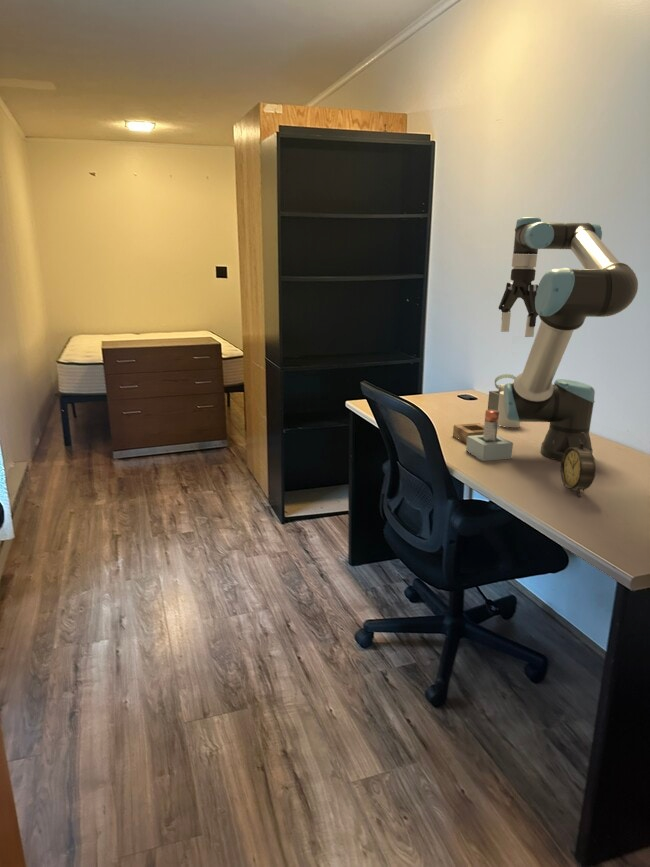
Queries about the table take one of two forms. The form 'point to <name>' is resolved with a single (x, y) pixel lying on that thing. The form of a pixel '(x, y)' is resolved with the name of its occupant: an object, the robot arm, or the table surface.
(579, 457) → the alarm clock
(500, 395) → the cream cylinder
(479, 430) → the mount
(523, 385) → the robot arm
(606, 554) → the table surface
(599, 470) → the table surface
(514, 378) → the headphones
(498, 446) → the frame
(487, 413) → the pin
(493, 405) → the box
